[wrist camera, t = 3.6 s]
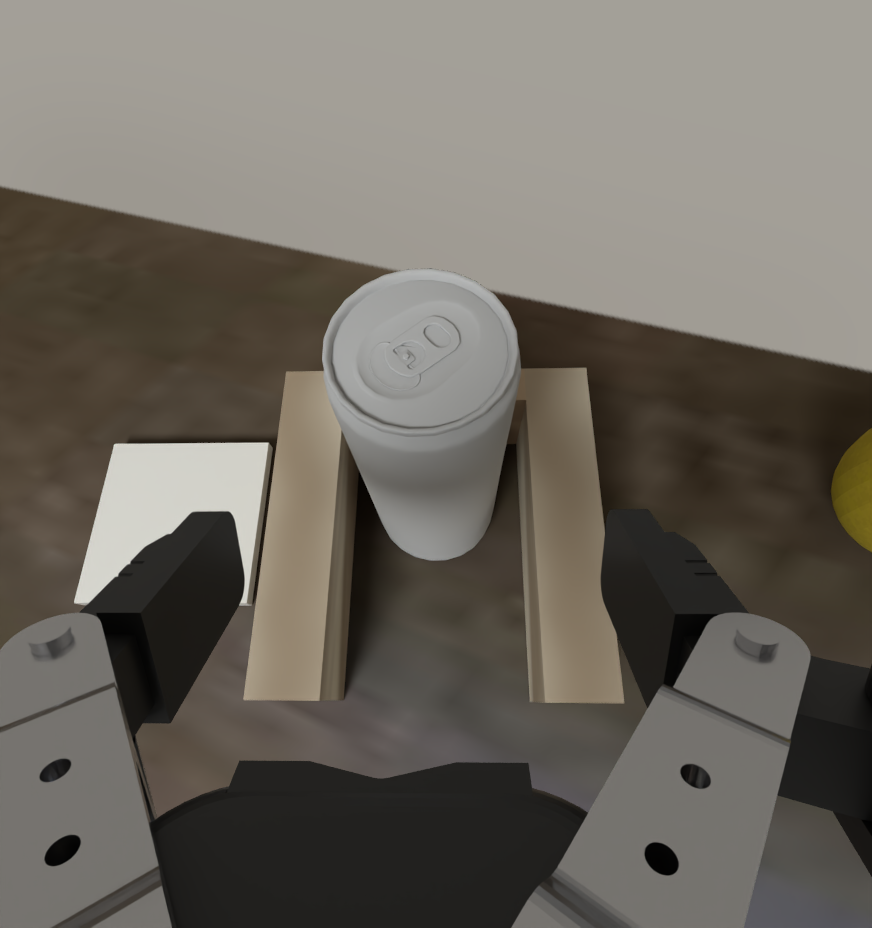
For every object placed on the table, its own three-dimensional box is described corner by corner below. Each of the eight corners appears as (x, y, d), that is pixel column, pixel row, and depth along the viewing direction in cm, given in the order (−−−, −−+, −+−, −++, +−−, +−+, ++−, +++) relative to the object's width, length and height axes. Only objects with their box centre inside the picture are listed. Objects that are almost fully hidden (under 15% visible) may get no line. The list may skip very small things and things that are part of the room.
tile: (272, 448, 25) (268, 442, 25) (251, 605, 23) (246, 603, 22) (122, 449, 26) (114, 443, 25) (83, 605, 23) (73, 602, 22)
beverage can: (359, 500, 24) (276, 334, 13) (445, 437, 25) (436, 232, 14) (428, 588, 23) (399, 482, 12) (517, 516, 24) (569, 356, 13)
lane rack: (567, 415, 25) (586, 367, 22) (594, 702, 21) (624, 703, 17) (310, 418, 26) (286, 371, 22) (280, 699, 21) (243, 699, 17)
